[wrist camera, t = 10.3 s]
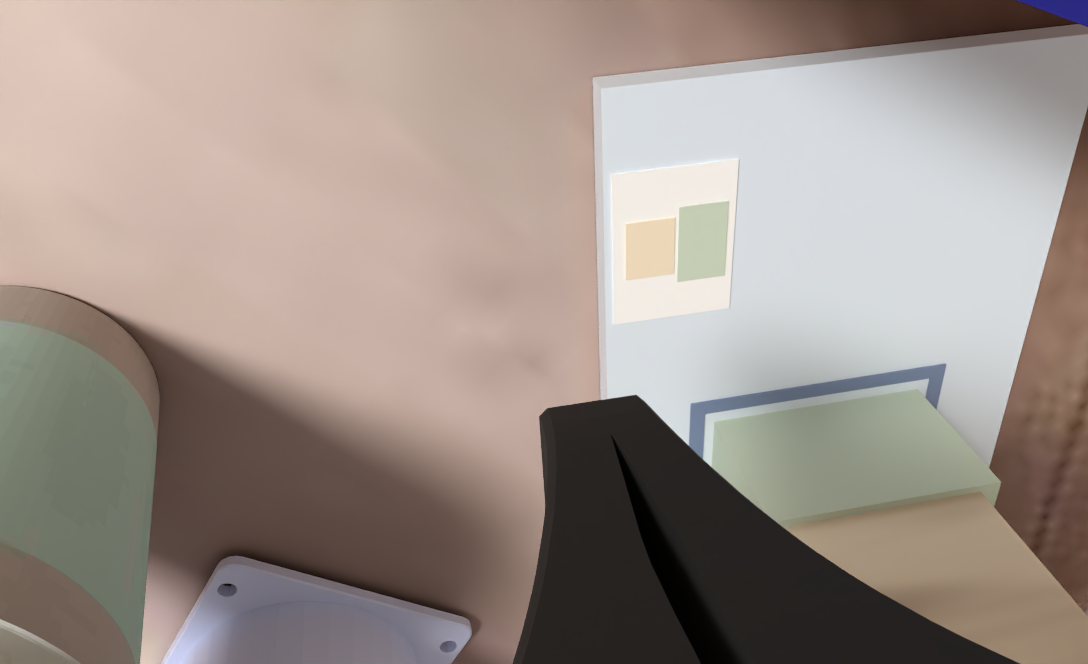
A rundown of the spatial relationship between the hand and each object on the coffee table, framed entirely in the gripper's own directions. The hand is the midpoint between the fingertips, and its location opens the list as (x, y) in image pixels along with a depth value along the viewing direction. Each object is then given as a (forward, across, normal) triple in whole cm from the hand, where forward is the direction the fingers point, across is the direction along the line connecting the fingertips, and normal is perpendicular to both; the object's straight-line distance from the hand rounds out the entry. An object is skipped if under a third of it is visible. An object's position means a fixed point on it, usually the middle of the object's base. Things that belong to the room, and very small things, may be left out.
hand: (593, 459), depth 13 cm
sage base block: (+10, -8, +11) cm, 17 cm away
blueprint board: (+10, -8, +7) cm, 15 cm away
